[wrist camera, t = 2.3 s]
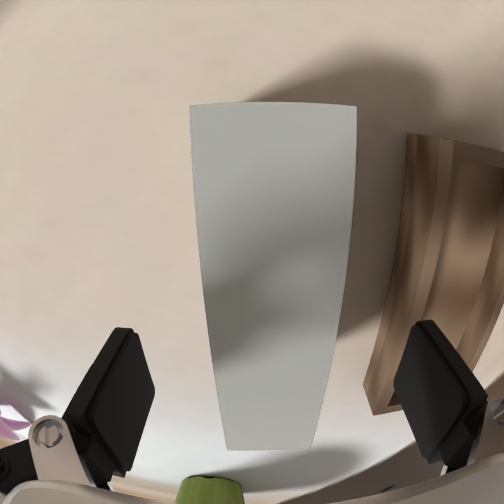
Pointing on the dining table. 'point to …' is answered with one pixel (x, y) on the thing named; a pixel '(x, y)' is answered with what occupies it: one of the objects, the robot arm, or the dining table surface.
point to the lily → (11, 427)
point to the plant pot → (209, 491)
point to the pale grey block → (272, 258)
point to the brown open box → (443, 257)
